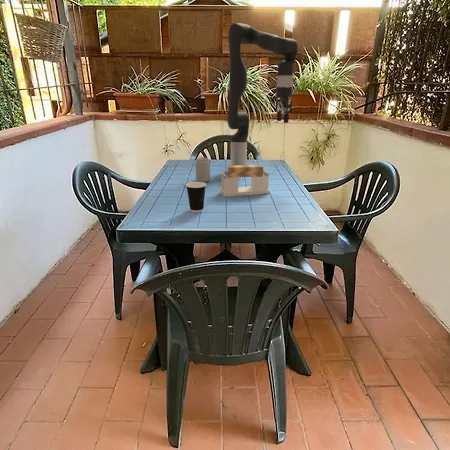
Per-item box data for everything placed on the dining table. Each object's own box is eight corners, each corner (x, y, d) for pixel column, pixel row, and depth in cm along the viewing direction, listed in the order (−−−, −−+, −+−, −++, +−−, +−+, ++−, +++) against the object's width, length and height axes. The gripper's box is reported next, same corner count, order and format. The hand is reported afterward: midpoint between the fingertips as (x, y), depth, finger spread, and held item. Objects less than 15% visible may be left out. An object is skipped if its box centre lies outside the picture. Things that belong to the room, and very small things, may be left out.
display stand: (224, 196, 158) (223, 176, 154) (220, 191, 165) (219, 172, 161) (269, 193, 163) (270, 173, 159) (263, 188, 170) (264, 169, 166)
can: (193, 181, 182) (192, 158, 178) (200, 178, 188) (200, 156, 184) (205, 183, 179) (205, 160, 175) (212, 180, 185) (212, 157, 181)
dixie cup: (187, 207, 144) (185, 181, 140) (206, 207, 145) (205, 181, 141) (187, 214, 137) (185, 187, 133) (207, 213, 138) (206, 186, 133)
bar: (228, 177, 159) (228, 167, 157) (227, 175, 162) (227, 165, 161) (263, 176, 159) (263, 166, 158) (261, 174, 163) (262, 165, 161)
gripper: (271, 86, 170) (270, 120, 176) (282, 86, 157) (280, 123, 163) (285, 86, 171) (283, 120, 177) (298, 86, 158) (295, 123, 165)
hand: (282, 121), depth 170 cm, fingers open, 8 cm apart
